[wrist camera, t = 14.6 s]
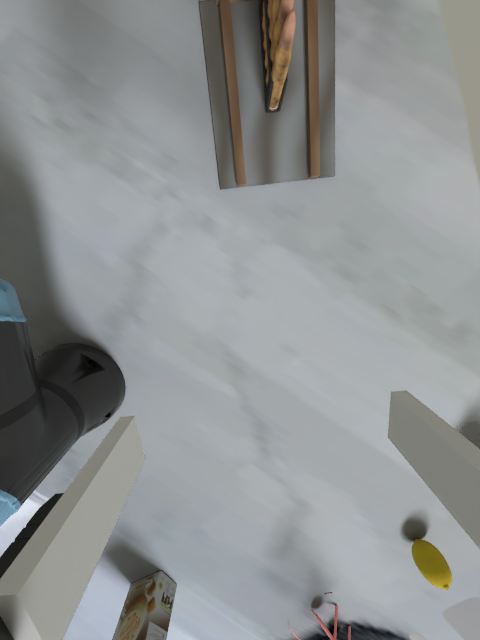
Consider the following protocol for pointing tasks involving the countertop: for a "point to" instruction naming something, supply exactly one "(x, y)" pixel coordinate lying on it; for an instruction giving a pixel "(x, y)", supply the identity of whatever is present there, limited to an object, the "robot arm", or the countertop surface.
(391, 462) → the countertop surface
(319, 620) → the figurine
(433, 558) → the lemon
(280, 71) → the ammunition clip
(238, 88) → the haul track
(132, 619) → the coffee box
